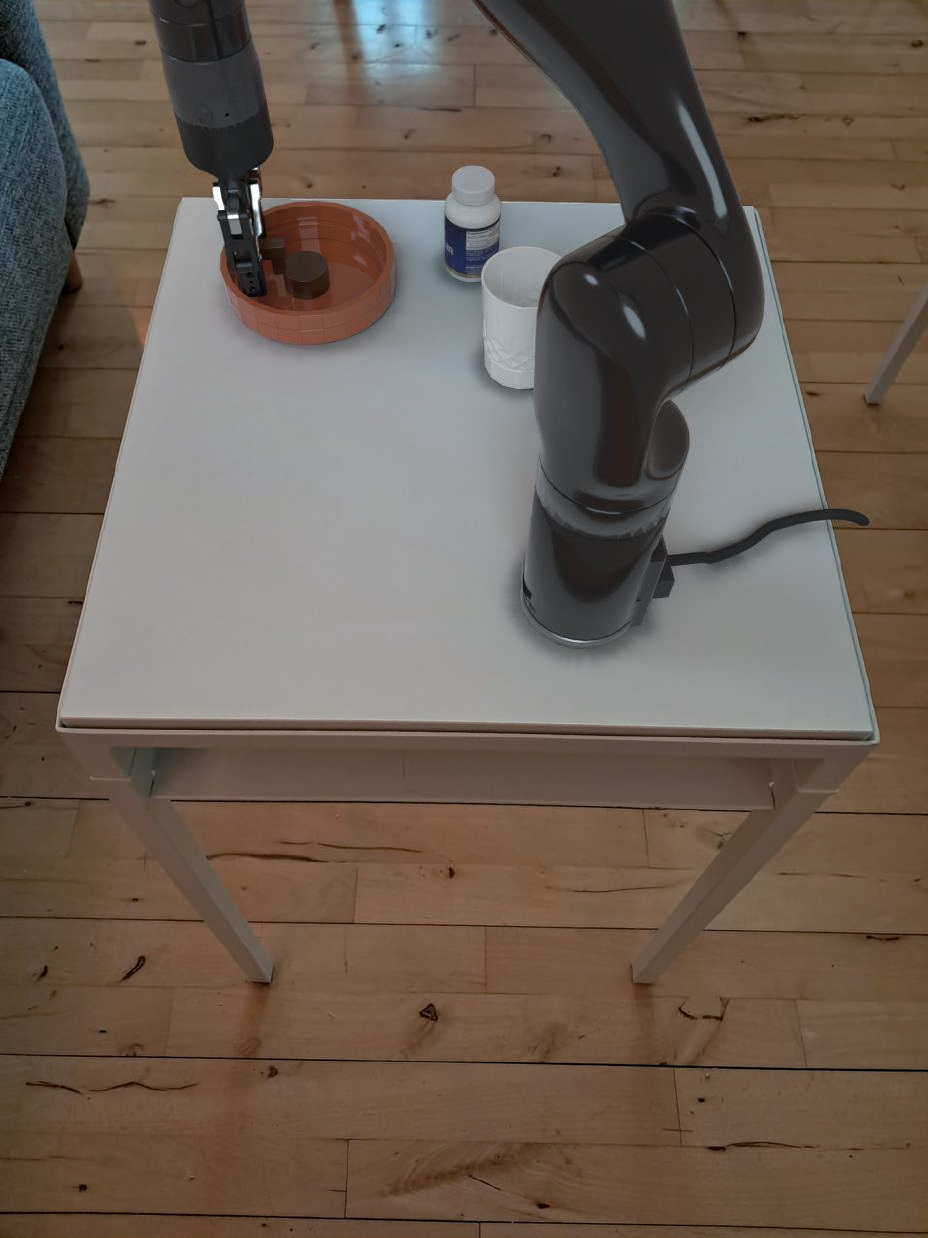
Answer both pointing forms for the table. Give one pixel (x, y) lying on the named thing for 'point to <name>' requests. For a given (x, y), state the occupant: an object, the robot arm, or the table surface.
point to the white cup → (513, 312)
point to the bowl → (354, 273)
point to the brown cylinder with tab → (296, 268)
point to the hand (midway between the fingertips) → (256, 265)
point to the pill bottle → (471, 223)
